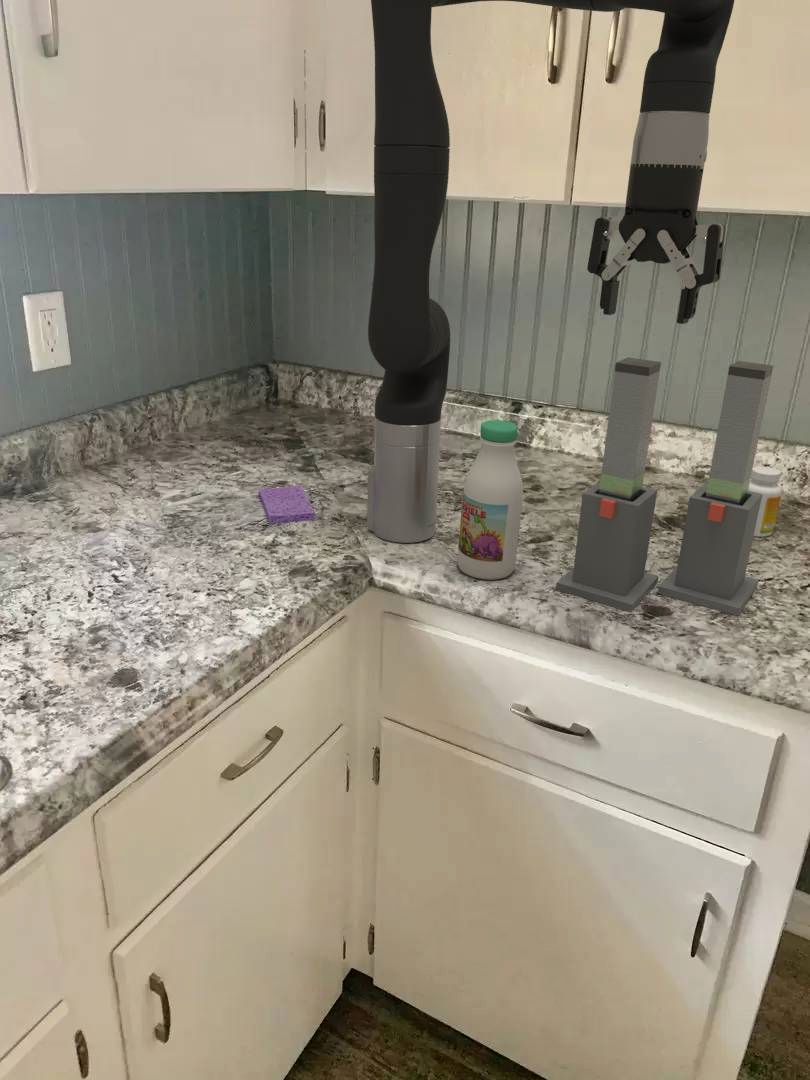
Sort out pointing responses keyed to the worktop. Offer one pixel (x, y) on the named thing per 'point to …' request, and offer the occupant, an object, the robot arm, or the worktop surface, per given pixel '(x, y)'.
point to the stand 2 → (715, 554)
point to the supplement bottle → (766, 498)
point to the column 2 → (738, 431)
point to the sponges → (286, 504)
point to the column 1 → (629, 428)
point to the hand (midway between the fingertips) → (645, 318)
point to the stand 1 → (612, 550)
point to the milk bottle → (491, 505)
